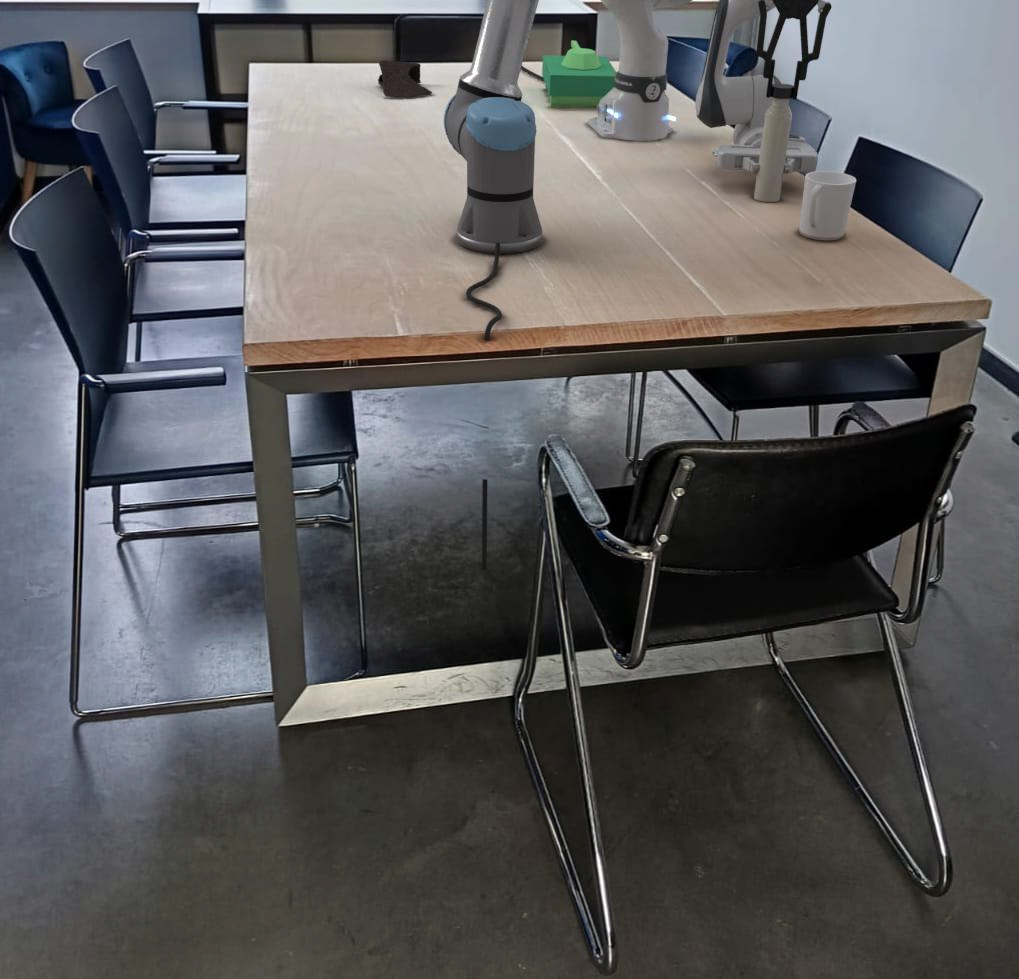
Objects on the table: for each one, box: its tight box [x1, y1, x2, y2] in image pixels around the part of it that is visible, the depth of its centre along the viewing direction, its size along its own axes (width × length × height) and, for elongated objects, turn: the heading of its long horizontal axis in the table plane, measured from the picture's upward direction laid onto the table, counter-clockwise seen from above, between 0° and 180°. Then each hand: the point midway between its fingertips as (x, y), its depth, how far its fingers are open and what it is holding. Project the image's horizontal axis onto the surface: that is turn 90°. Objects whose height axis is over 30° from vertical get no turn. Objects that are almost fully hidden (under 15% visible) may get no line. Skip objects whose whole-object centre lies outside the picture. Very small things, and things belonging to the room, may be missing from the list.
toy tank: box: [541, 40, 617, 108], centre depth 296 cm, size 18×12×35 cm
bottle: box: [753, 98, 793, 203], centre depth 216 cm, size 5×5×21 cm
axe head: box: [377, 59, 433, 99], centre depth 299 cm, size 18×8×15 cm
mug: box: [798, 170, 857, 241], centre depth 199 cm, size 11×9×10 cm
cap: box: [771, 83, 794, 100], centre depth 210 cm, size 4×4×2 cm
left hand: (781, 96), depth 211 cm, fingers closed on cap, 4 cm apart
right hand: (772, 169), depth 217 cm, fingers closed on bottle, 5 cm apart
